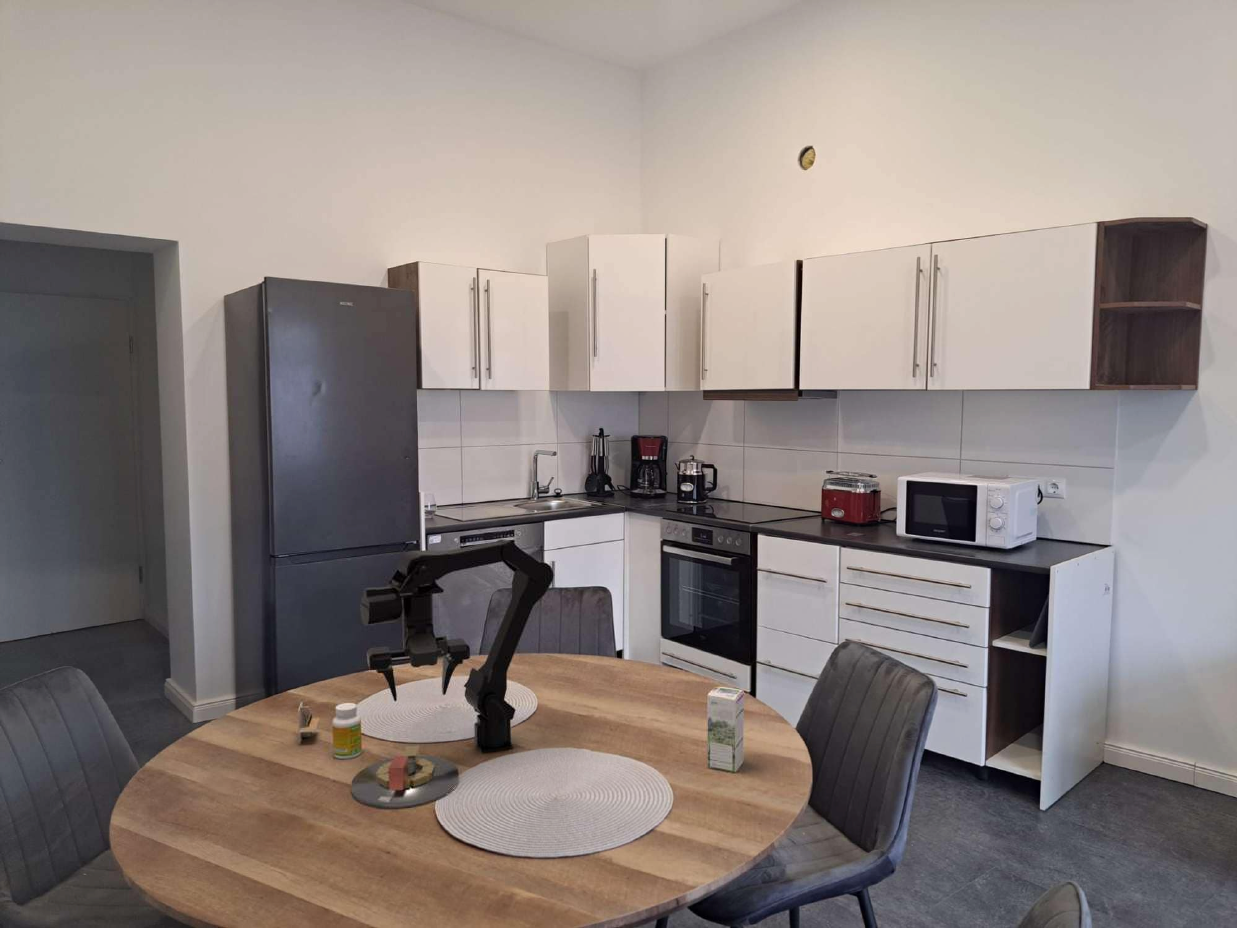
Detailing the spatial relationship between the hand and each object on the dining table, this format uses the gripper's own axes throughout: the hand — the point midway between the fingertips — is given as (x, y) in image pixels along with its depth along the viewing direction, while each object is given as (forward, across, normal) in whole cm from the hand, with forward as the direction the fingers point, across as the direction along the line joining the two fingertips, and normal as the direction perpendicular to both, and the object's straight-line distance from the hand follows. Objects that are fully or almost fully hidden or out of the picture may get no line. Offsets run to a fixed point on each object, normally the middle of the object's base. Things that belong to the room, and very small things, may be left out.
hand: (419, 697), depth 163 cm
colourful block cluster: (+11, -4, -8) cm, 15 cm away
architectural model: (+14, -20, +22) cm, 33 cm away
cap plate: (+13, -4, -8) cm, 16 cm away
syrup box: (+13, +54, -23) cm, 60 cm away
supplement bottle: (+13, -13, +10) cm, 21 cm away
